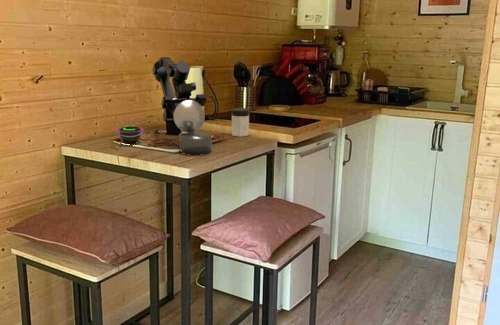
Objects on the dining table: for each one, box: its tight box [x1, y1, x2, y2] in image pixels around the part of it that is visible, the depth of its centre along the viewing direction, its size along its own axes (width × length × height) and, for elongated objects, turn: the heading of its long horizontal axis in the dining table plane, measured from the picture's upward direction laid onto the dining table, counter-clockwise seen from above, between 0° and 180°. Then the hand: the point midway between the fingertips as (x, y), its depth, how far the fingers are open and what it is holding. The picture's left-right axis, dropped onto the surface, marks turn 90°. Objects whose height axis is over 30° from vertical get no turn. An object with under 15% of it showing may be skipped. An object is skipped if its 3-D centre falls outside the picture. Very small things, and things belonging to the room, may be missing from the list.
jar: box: [231, 107, 250, 138], centre depth 234 cm, size 9×8×12 cm
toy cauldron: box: [116, 118, 144, 147], centre depth 210 cm, size 15×15×11 cm
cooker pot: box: [178, 131, 213, 156], centre depth 204 cm, size 14×13×6 cm
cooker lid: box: [173, 100, 206, 133], centre depth 209 cm, size 13×13×3 cm
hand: (188, 117), depth 210 cm, fingers open, 9 cm apart
